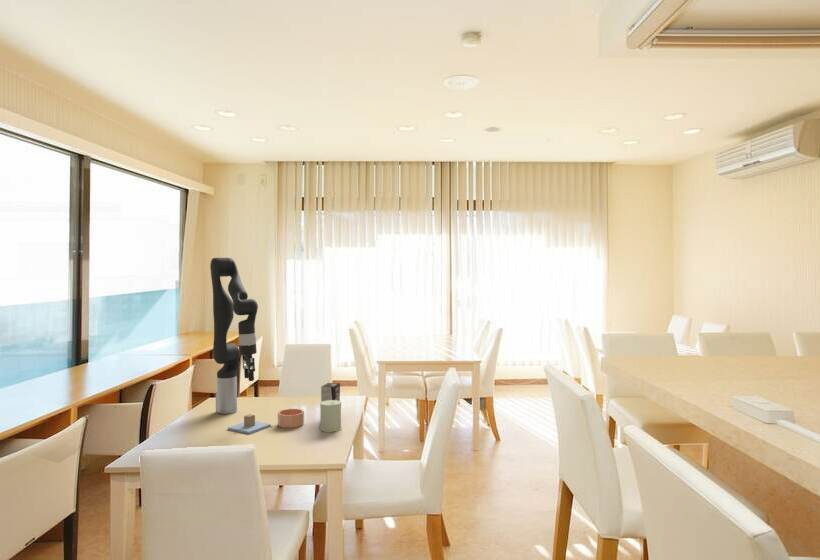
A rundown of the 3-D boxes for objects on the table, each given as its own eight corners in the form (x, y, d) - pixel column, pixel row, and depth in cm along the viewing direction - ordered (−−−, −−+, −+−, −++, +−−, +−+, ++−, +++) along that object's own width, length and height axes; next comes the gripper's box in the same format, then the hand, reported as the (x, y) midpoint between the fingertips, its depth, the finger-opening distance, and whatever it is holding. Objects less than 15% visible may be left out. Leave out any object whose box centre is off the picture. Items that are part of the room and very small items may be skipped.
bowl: (272, 426, 227) (272, 413, 227) (289, 420, 237) (289, 407, 237) (292, 430, 222) (292, 416, 222) (308, 423, 232) (308, 410, 231)
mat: (225, 430, 221) (225, 429, 221) (249, 422, 234) (249, 421, 234) (249, 435, 215) (249, 434, 215) (273, 426, 227) (273, 426, 227)
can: (323, 433, 218) (323, 405, 218) (317, 427, 227) (317, 400, 226) (344, 430, 223) (344, 402, 222) (337, 424, 231) (337, 398, 231)
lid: (228, 429, 222) (228, 417, 221) (249, 422, 233) (249, 410, 232) (249, 434, 216) (249, 421, 216) (270, 426, 227) (270, 413, 227)
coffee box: (333, 422, 234) (333, 387, 234) (320, 421, 236) (320, 386, 235) (340, 416, 243) (340, 382, 243) (327, 416, 244) (327, 382, 244)
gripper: (235, 343, 236) (237, 378, 236) (242, 345, 224) (244, 383, 224) (252, 341, 240) (254, 376, 240) (259, 344, 227) (261, 380, 228)
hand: (249, 379), depth 232 cm, fingers open, 8 cm apart
